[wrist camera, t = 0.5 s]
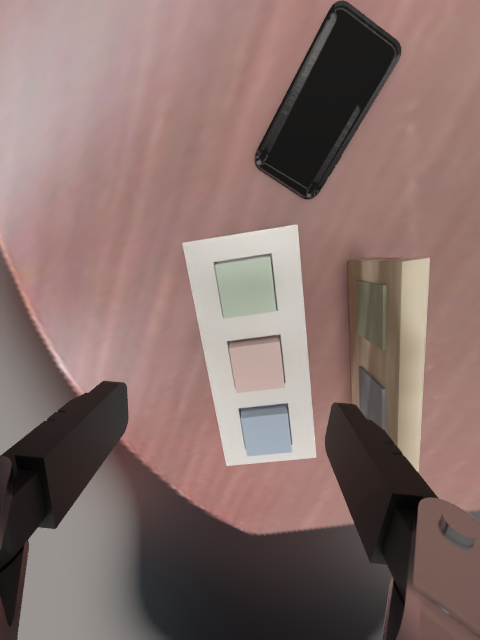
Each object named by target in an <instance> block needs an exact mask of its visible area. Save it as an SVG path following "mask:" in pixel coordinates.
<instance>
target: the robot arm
mask: <svg viewBox="0 0 480 640" xmlns="http://www.w3.org/2000/svg"><path fill="white" fill-rule="evenodd" d="M127 424H128V399H127V386H126V384H125V383H123V382H112V381H103V382H101V383H100V384H99V385H97V386H96V387H95V388H94V389H93V390H91V391H90V392H89V393H85V394H83V395H81V396H79V397H76V398H74V399H72V400H70V401H69V402H68V403H67V404H65V405H64V406H63V407H62V408H60V409H59V410H58V412H55V413H54V414H53V415H51V416H50V417H49V418H48V419H47V421H44V422H43V423H41V424H40V425H39V426H38V427H36V428H35V429H34V430H32V431H31V432H30V433H29V434H28V435H26V436H25V437H24V438H23V439H21V440H20V441H19V442H17V443H16V444H15V445H14V446H12V447H11V448H10V449H9V450H7V451H6V452H5V453H4V454H2V455H1V456H0V640H17V639H18V628H19V620H20V613H21V604H22V597H23V589H24V582H25V574H26V567H27V558H28V551H29V542H28V539H29V538H30V536H31V535H32V534H33V533H34V531H35V530H36V529H37V528H38V527H42V528H52V529H56V528H57V526H58V525H59V523H60V522H61V520H62V519H63V518H64V516H65V515H66V514H67V512H68V511H69V509H70V508H71V507H72V505H73V504H74V502H75V501H76V500H77V498H78V497H79V495H80V494H81V492H82V491H83V490H84V488H85V487H86V486H87V484H88V483H89V481H90V480H91V479H92V477H93V476H94V474H95V473H96V471H97V470H98V469H99V467H100V466H101V465H102V463H103V462H104V460H105V459H106V458H107V456H108V455H109V453H110V452H111V451H112V449H113V448H114V447H115V445H116V443H117V442H118V441H119V440H120V438H121V437H122V435H123V434H124V432H125V430H126V427H127ZM325 448H326V453H327V456H328V458H329V461H330V463H331V466H332V468H333V471H334V473H335V476H336V478H337V481H338V483H339V486H340V488H341V491H342V493H343V496H344V498H345V501H346V503H347V506H348V508H349V511H350V513H351V516H352V518H353V521H354V523H355V526H356V528H357V531H358V533H359V536H360V538H361V541H362V543H363V546H364V548H365V551H366V553H367V556H368V558H369V561H370V563H378V564H387V565H388V567H389V570H390V572H391V574H392V576H393V577H392V579H391V583H390V587H389V594H388V601H387V609H386V615H385V622H384V629H383V636H382V640H480V523H479V522H478V521H477V520H476V519H475V518H473V517H472V516H471V515H470V514H468V513H467V512H465V511H464V510H462V509H461V508H459V507H457V506H456V505H454V504H452V503H449V502H447V501H444V500H442V499H439V498H438V497H437V496H436V495H435V493H434V492H433V491H432V490H431V488H430V487H429V486H428V485H427V483H426V482H425V481H424V480H423V478H422V477H421V476H420V474H419V473H418V472H417V471H416V469H415V468H414V467H413V466H412V464H411V463H410V462H409V461H408V459H407V458H406V457H405V456H403V453H402V452H401V450H400V449H399V448H398V447H397V445H394V442H393V440H392V439H391V438H390V437H389V435H388V434H387V433H386V432H385V430H383V429H382V428H381V427H380V426H378V425H377V424H376V423H374V422H373V421H372V420H367V419H366V417H365V416H364V415H363V413H362V412H361V411H360V409H359V408H358V407H357V406H356V405H355V404H345V403H333V405H332V407H331V412H330V416H329V421H328V426H327V431H326V436H325Z"/></svg>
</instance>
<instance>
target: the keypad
mask: <svg viewBox="0 0 480 640" xmlns="http://www.w3.org/2000/svg"><path fill="white" fill-rule="evenodd" d="M182 244H183V249H184V254H185V259H186V264H187V269H188V274H189V279H190V284H191V289H192V294H193V299H194V304H195V310H196V315H197V320H198V325H199V330H200V335H201V340H202V345H203V350H204V355H205V360H206V365H207V370H208V375H209V380H210V385H211V390H212V395H213V400H214V405H215V410H216V415H217V420H218V425H219V430H220V435H221V440H222V445H223V451H224V456H225V461H226V466H230V465H241V464H252V463H263V462H274V461H285V460H296V459H307V458H316V448H315V436H314V423H313V411H312V398H311V386H310V373H309V361H308V348H307V336H306V323H305V311H304V298H303V286H302V273H301V261H300V249H299V236H298V224H297V225H291V226H285V227H278V228H272V229H266V230H260V231H253V232H247V233H241V234H235V235H228V236H222V237H216V238H210V239H203V240H197V241H191V242H185V243H182ZM263 257H270V258H271V267H272V276H273V285H274V294H275V303H276V311H275V312H268V313H260V314H253V315H246V316H238V317H231V318H224V317H223V311H222V305H221V299H220V293H219V287H218V281H217V275H216V270H215V265H217V264H223V263H230V262H236V261H243V260H250V259H256V258H263ZM272 335H277V336H278V338H279V341H280V348H281V357H282V366H283V375H284V384H285V388H277V389H268V390H260V391H251V392H242V393H236V388H235V382H234V376H233V370H232V364H231V358H230V352H229V345H230V341H233V340H241V339H249V338H256V337H264V336H272ZM276 404H286V408H287V412H288V420H289V429H290V438H291V447H292V452H290V453H279V454H268V455H257V456H247V452H246V447H245V441H244V435H243V429H242V423H241V408H248V407H257V406H266V405H276Z"/></svg>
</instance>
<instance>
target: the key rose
mask: <svg viewBox="0 0 480 640" xmlns="http://www.w3.org/2000/svg"><path fill="white" fill-rule="evenodd" d="M229 352H230V358H231V364H232V370H233V376H234V382H235V388H236V393H242V392H251V391H260V390H268V389H277V388H285V384H284V375H283V366H282V357H281V348H280V341H279V338H278V336H277V335H272V336H264V337H256V338H249V339H241V340H233V341H230V345H229Z"/></svg>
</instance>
